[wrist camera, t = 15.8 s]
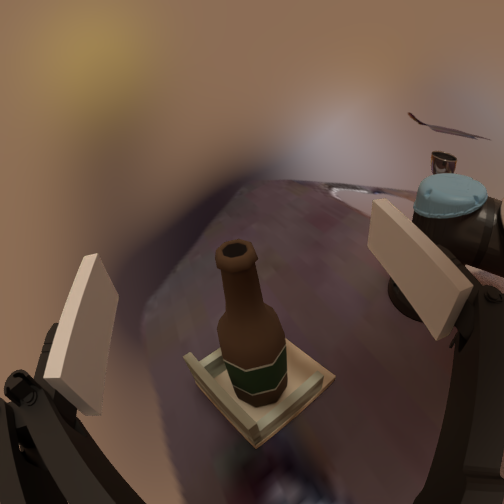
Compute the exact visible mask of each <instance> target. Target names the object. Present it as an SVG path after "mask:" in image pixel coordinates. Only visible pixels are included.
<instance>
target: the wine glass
mask: <svg viewBox="0 0 504 504" xmlns="http://www.w3.org/2000/svg"><path fill="white" fill-rule="evenodd" d="M456 162H457V158H456V157H455V156H453V155H451V154H449V153H446V152H442V151H433V152H432V155H431V170H432V173H433V175H435V174H440V173H452V174H454V171H455V168H456Z"/></svg>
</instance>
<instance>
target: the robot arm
mask: <svg viewBox="0 0 504 504" xmlns="http://www.w3.org/2000/svg"><path fill="white" fill-rule="evenodd" d="M413 208H414V214H413V220H412V222H411V221H410V220H409V219H408V218H407V217H406V216H405V215H404V214H403V213H402V212H401V211H399V210H398V209H397V208H396V207H395V206H394V205H393V204H392V203H390V202H389V201H388V200H387V199H386V198H383V199H378V200H373V202H372V212H371V221H370V229H369V237H368V245H367V247H368V248H369V249H370V251H371V252H372V253H373V254H374V256H375V257H376V258H377V259H378V261H379V262H380V263H381V265H382V266H383V267H384V268H385V270H386V271H387V272H388V274H389V275H390V276H391V277H390V281H389V285H388V292H389V296H390V298H391V300H392V302H393V304H394V305H395V306H396V307H397V308H398V309H399V310H400V311H401V312H402V313H404V314H405V315H407V316H408V317H410V318H412V319H415V320H418V321H421V322H424V324H425V325H426V327H427V328H428V330H429V331H430V333H431V334H432V336H433V337H434V339H435V340H436V341H437V340H439V339H441V338H444V337H446V336H448V335H449V334H450V333H451V331H452V329H453V327H454V325H455V326H456V328H457V329H458V332H457V334H456V335H455V337H454V339H453V341H452V342H451V344H450V347H449V348H452V347H453V345H454V343H455V351H454V360H453V368H452V376H451V382H450V389H449V395H448V400H447V405H446V410H445V415H444V420H443V424H442V429H441V433H440V437H439V441H438V444H437V448H436V452H435V455H434V459H433V462H432V465H431V468H430V471H429V474H428V477H427V480H426V483H425V486H424V488H423V490H422V491H421V492H420V494H419V495H418V496H417V497H416V499H415V500H414V502H413V504H502V501H503V498H504V479H503V478H502V477H501V476H500V466H501V461H502V456H503V450H504V294H502V293H501V292H500V291H499V290H498V289H497V288H495V287H493V286H489V285H485V286H482V285H481V284H480V283H479V281H478V280H477V279H476V278H475V277H474V276H473V275H472V274H471V273H470V271H469V270H468V269H467V268H466V267H465V265H470V266H472V267H475V268H478V269H481V270H484V271H487V272H489V273H492V274H495V275H497V276H500V277H503V278H504V198H503V200H502V201H500V200H497V199H495V198H491V197H488V195H487V190H486V188H485V187H484V185H483V184H482V183H480V182H479V181H476V180H473V178H470V177H467V176H464V175H459V174H452V173H440V174H435V175H431V176H428V177H427V178H425V179H424V180H423V181H422V182H421V183H420V185H419V188H418V192H417V197H416V200H415V202H414V206H413ZM118 299H119V295H118V293H117V291H116V289H115V288H114V286H113V284H112V282H111V280H110V278H109V276H108V274H107V271H106V270H105V267H104V266H103V263H102V261H101V259H100V257H99V255H98V253H97V254H92V255H88V256H84V258H83V261H82V263H81V265H80V268H79V270H78V273H77V275H76V277H75V280H74V283H73V285H72V288H71V290H70V293H69V296H68V298H67V301H66V304H65V307H64V310H63V312H62V315H61V319H60V321H59V323H54V324H53V326H52V327H51V328H50V330H49V331H48V333H47V336H46V338H45V342H44V345H43V348H42V354H41V355H40V359H39V362H38V365H37V369H36V372H35V376H34V379H33V378H32V377H31V376H30V375H29V374H28V373H27V372H26V371H24V370H16V371H14V372H13V373H12V374H11V375H10V376H9V377H8V378H7V380H6V382H5V386H4V394H5V396H7V397H8V398H9V399H10V400H11V401H12V402H9V403H6V402H5V401H4V400H3V399H2V398H0V503H1V504H68V503H69V504H146V503H145V502H144V501H143V500H142V499H141V498H140V497H139V496H138V495H137V493H136V492H135V491H134V490H133V489H132V488H131V487H130V485H129V484H128V483H127V482H126V481H125V480H124V479H123V477H122V476H121V475H120V474H119V473H118V471H117V470H116V469H115V468H114V466H113V465H112V464H111V463H110V462H109V460H108V459H107V458H106V456H105V455H104V454H103V452H102V451H101V450H100V448H99V447H98V445H97V444H96V443H95V441H94V440H93V439H92V437H91V436H90V434H89V433H88V431H87V430H86V428H85V427H84V425H83V424H82V422H81V421H80V420H79V419H78V418H77V417H76V413H77V409H78V410H79V411H80V412H81V413H83V414H84V415H86V416H99V415H101V413H102V402H103V392H104V383H105V375H106V368H107V360H108V353H109V347H110V341H111V335H112V330H113V324H114V319H115V314H116V309H117V303H118ZM19 445H20V448H19ZM20 449H21V451H20ZM67 501H68V502H67Z"/></svg>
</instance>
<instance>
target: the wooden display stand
mask: <svg viewBox="0 0 504 504" xmlns="http://www.w3.org/2000/svg"><path fill="white" fill-rule="evenodd" d="M285 340H286V352H287V377H288V382H287V387H286V389H285V390H284V392H283V393H282V395H281V396H280V398H279V399H278V401H277V402H276V403H272V404H268V405H264V406H260V407H254V406H252V405H250V404H248V403H246V402H244V401H242V400H240V399H238V398H237V396H236V394H235V391H234V388H233V386H232V383H231V380H230V377H229V375H228V372H227V369H226V366H225V363H224V361H223V357H222V352H221V347H220V348H219V349H217V350H216V351H214V352H213V353H211V354H210V355H208V356H207V357H206V358H204V359H203V360H201V361H200V362H199V361H198V360H197V359H196V358H195V357H194V356H193V354H192V353H191V352H189V353H188V354H186V355H185V356H183V358H184V360H185V362H186V364H187V366H188V367H189V369H190V371H191V373H192V375H193V377H194V379H195V380H196V384H197V386H198V387H199V388H200V389H201V390H202V392H203V393H204V394H205V395H206V396H207V397H208V399H209V400H210V401H211V402H212V403H213V404H214V405H215V406H216V408H217V409H218V410H219V411H220V412H221V413H222V414H223V415H224V416H225V418H226V419H227V420H228V421H229V422H230V423H231V424H232V425H233V426H234V427H235V428H236V429H237V430H238V431H239V432H240V433H241V435H242V436H243V437H244V438H245V439H246V440H247V441H248V442H249V443H250V444H251V445H252V446H253V447H254V448H255V449H257V448H258V447H260V446H261V445H262V444H263V443H265V442H266V441H267V440H268V439H270V438H271V437H272V436H273V435H275V434H276V433H277V432H278V431H280V430H281V429H282V428H283V427H284V426H285V425H287V424H288V423H289V422H290V421H291V420H292V419H294V418H295V417H296V416H297V415H298V414H299V413H300V412H302V411H303V410H304V409H305V408H306V407H307V406H308V405H309V404H310V403H311V402H313V401H314V400H315V399H316V398H317V397H318V396H319V395H320V394H321V393H322V392H323V391H324V390H325V389H326V388H327V387H328V386H329V385H330V384H331V383H332V382H333V381H334V380H335V377H336V376H335V375H333V374H332V373H331V372H329V371H328V370H327V369H325V368H324V367H323V366H321V365H320V364H319V363H317V362H316V361H315V360H313V359H312V358H311V357H309V356H308V355H307V354H305V353H304V352H303V351H301V350H300V349H299V348H297V347H296V346H295V345H294V344H292V343H291V342H290V341H288V340H287V339H286V338H285Z"/></svg>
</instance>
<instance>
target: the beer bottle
mask: <svg viewBox="0 0 504 504" xmlns="http://www.w3.org/2000/svg"><path fill="white" fill-rule="evenodd" d="M215 260H216V265H217V268H218V269H221V275H222V281H223V288H224V294H225V300H226V312H225V313H224V315H223V316H222V317H221V319H220V320H219V323H218V327H217V332H218V337H219V342H220V347H221V352H222V357H223V361H224V363H225V366H226V369H227V372H228V375H229V377H230V380H231V383H232V386H233V388H234V391H235V394H236V396H237V398H238V399H240V400H242V401H244V402H246V403H248V404H250V405H252V406H254V407H260V406H264V405H268V404H272V403H276V402H277V401H278V399H279V398H280V396H281V395H282V393H283V392H284V390H285V389H286V387H287V382H288V377H287V352H286V340H285V334H284V331H283V329H282V326H281V324H280V321H279V318H278V316H277V314H276V312H275V311H274V310H273V308H272V307H270V306H268V305H267V304H265V303H264V302H263V298H262V293H261V289H260V284H259V279H258V275H257V270H256V265H255V262H256V261H257V260H258V257H257V255H256V252H255V250H254V247H253V245H252V243H251V242H248V241H244V240H241V239H237V240H232V241H228V242H224V243H223V244H222V245H221V246H220V247H219V248H218V249H217V250H216V255H215Z"/></svg>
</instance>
